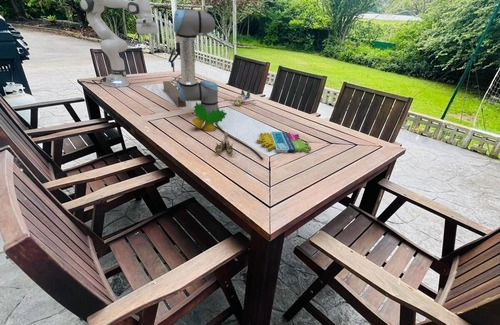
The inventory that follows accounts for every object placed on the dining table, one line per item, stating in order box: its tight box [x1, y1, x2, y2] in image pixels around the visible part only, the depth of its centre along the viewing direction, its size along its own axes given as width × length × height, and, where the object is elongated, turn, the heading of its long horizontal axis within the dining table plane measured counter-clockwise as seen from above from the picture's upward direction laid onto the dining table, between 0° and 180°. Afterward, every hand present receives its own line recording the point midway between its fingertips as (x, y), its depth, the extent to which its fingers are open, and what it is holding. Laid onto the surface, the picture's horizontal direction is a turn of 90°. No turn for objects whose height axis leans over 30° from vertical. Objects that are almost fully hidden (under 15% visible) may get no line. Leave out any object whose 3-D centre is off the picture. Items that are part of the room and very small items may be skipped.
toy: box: [223, 89, 257, 106], centre depth 219 cm, size 28×7×30 cm
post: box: [162, 80, 187, 108], centre depth 218 cm, size 53×6×8 cm, turn 27°
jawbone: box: [214, 131, 234, 156], centre depth 136 cm, size 9×15×10 cm
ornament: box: [191, 101, 228, 132], centre depth 162 cm, size 21×8×15 cm, turn 105°
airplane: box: [172, 76, 201, 88], centre depth 263 cm, size 38×32×10 cm
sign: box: [256, 131, 312, 154], centre depth 152 cm, size 26×2×30 cm
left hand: (148, 39), depth 217 cm, fingers open, 8 cm apart
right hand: (182, 71), depth 208 cm, fingers open, 13 cm apart
